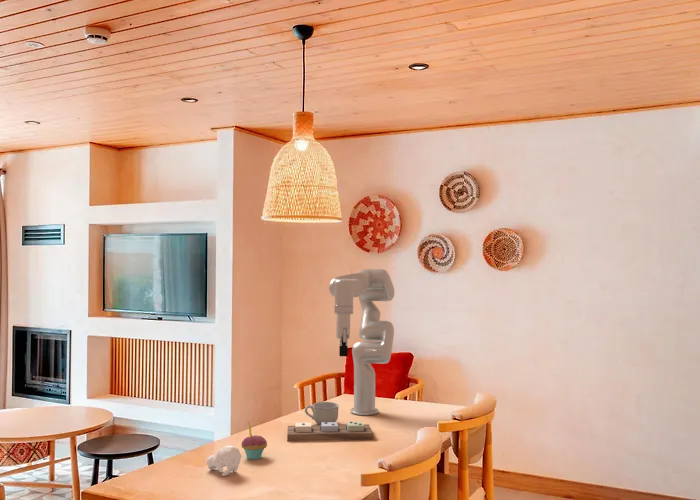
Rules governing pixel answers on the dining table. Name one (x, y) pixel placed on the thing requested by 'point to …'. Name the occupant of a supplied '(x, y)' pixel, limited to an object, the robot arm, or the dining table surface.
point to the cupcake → (254, 445)
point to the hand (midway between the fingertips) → (343, 356)
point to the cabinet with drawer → (329, 434)
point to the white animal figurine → (225, 460)
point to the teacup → (323, 412)
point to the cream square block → (302, 427)
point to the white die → (329, 427)
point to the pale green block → (355, 426)
